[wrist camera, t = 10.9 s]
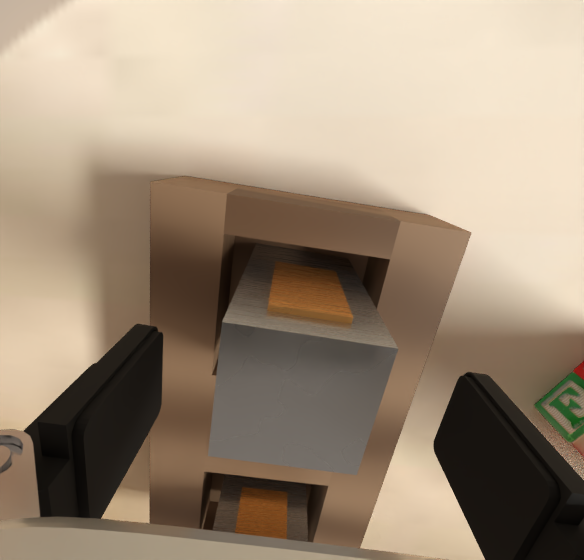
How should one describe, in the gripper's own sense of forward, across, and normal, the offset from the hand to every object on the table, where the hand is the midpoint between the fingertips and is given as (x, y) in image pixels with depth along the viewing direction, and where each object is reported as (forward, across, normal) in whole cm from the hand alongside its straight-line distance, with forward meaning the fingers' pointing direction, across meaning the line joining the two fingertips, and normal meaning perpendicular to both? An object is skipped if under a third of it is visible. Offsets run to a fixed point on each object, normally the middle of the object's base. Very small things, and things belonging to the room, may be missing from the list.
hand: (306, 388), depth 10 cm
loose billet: (+7, 0, 0) cm, 7 cm away
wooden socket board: (+8, 0, +6) cm, 10 cm away
